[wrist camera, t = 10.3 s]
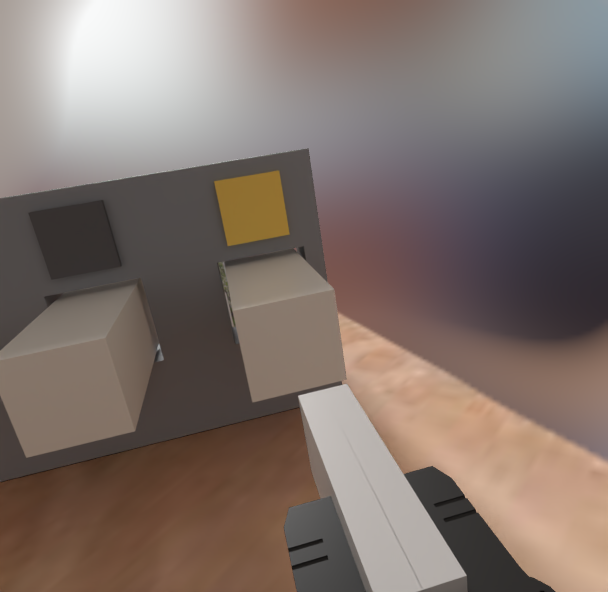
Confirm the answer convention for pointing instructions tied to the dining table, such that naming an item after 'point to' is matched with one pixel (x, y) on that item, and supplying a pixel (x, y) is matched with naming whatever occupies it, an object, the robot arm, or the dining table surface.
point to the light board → (159, 282)
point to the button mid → (80, 368)
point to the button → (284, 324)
